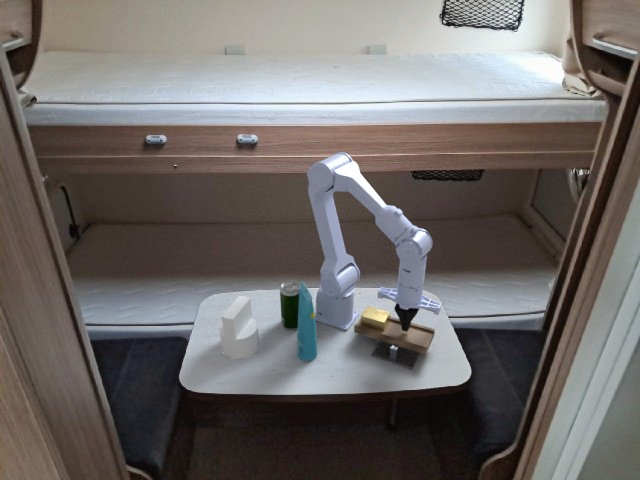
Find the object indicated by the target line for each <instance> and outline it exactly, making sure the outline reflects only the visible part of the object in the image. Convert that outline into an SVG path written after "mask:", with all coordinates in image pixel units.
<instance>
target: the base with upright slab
mask: <svg viewBox="0 0 640 480" xmlns="http://www.w3.org/2000/svg"><path fill="white" fill-rule="evenodd" d="M252 311H253V310H252V302H251V297H249V296H247V295H238V297H237V298H236V299H235V300H234V301H233V302H232V303H231V305H230V306H229V307H228V308H227V309H226V310H225V311H224V313H223V314H221V324H220V325H219V329H218V330H219V336H220V343H221V344H220V345H221V350H222V353H223V352H224V353H223V354H224V355H225V356H226V357H227V356H228V357H227V358H229V357H230V359H232V358H234V360H242V359H243V360H244V359H247V358H249V357H251V356H253V355H254V354H256V353H257V351H258V349H259V348H260V340H259V339H260V338H259V328H258V323H257V321H256V319H255V318H253V312H252Z"/></svg>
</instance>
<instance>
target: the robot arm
mask: <svg viewBox="0 0 640 480" xmlns="http://www.w3.org/2000/svg"><path fill="white" fill-rule="evenodd" d="M306 176H307V179H308V189H307V193H308V197H309V200H310V205H311V208H312V209H311V210H312V213H313V216H314V221H315V224H316V228H317V232H318V236H319V240H320V245H321V249H322V252H323V256H324V260H323V263H322V265H321V267H320V271H319V274H320V286H319V287H318V290H317V292H316V293H317V294H316V298H315V322H316V321H317V322H320V323H323V324H326V325H327V326H328V325H329V326H332V327H335V328H338V329H341V330H344V331H348V330H349V329H350V327H351V326H352V325H353V323H354V322H355V320H356V318H357V317H358V315H359V314H360V312H359V311H358V310H357V311H356V310H354V306H355V305H354V304H355V287H356V283H357V282H358V281H359V280H360V278H361V271H360V269H359V267H358V266H357V264H356V261H355V258H354V256H352V255H350V254H348V253H347V250H346V246H345V243H344V242H345V241H344V239H343V235H342V230H341V225H340V221H339V217H338V212H337V209H336V204H335V200H334V193H335V192H339V193H341V192H345V193H346V192H347V193H349V194H351V195H352V196H354V198H355V199H357V200H358V201H359V203H361V205H363V206H364V207H365V209H367V210H368V211H369V212H370V213H372V215H373V216H374V218H375V225H376V226H377V227H378V229H380V230H381V232H383V234H384V235H385V236H387V238H388V239H389V240H390V241H391V242H392V243H393V244H394V245H395V251H396V255H397V257H398V259H399V266H398V277H397V278H398V279H397V287H396V288H387V287H382V286H381V287H379V289H378V291H377V299H383V298H384V299H386V300H390V301H392V302H394V303H395V305H394V312H395V313H396V315H397V316H398V319H399V320H400V323H401V328H402V330H403V331H406V332H407V331H408V330H409V328H410V324H411V321H412V322H413V320H414V318H415V317H416V316H417V314H418V312H419V311H420V309H421V310H425V311H428V312H431V313H432V312H433V314H434V315H437V316H439V315H440V313H441V309H442V303H441V302H437V301H435V300H433V299H432V298H429V297H428V296H425V295H423V291H424V283H425V275H426V269H427V268H426V267H427V259H428V255H427V254H428V253H429V252H430V251H431V250H432V248H433V244H434V243H433V239H432V236H431V235H430V233H429V231H427V230H426V229H424V228H420V227H418V226H417V225H413V223H412V222H411V221H410V220H409V219H408V218H407V217H406V216H405V215H404V214H403V212H404V211H402V209H400V208H397V207H396V206H395V205H388V204H386V203H385V202H384V200H383V199H382V198H381V196H380V195H379V194H378V193H377V192H376V190H375V189H374V188H373V186H371V184H370V183H369V181H367V180H366V178H365V177H364V176H363V174H361V172H360V167H359V164H358V163H357V162H356V161H354V160H353V158H352V157H351V155H349V154H348V153H347V152H344V151H339V152H337V153H335V154H333V155H332V156H329V157H327V158H325V159H323V160H320V161H317V162H315V163H313V164H312V165H311V166H310V167H309V169H308V170H307V172H306Z"/></svg>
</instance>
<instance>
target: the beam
mask: <svg viewBox="0 0 640 480" xmlns="http://www.w3.org/2000/svg"><path fill="white" fill-rule="evenodd" d="M435 332H436V329H435V328H432V327H428V326H426V325H421V324H418V323H415V322H412V323H411V324H410V328H409V330H408V331H407V332H406V331H403V330H402V328H401V323H400V320H399V318H397V317H393V316H390V323H389V324H388V326H387V328H386V329H385V331H384V332H381V331H378V330H375V329H371V328H368V327H365V326H361V317H360V319H359V320H358V321H357V323H355V324H354V325H353V333H355V334H357V335H362V336H365V337H368V338H371V339H374V340H378V341H379V342H380V341H384V342H387V343H390V344H393V345H396V346H400V347H403V348H406V349H409V350H413V351H416V352H419V353H420V354H423V355H427V353H428V351H429V348H430V346H431V344H432V342H433V340H434V337H435Z"/></svg>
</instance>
